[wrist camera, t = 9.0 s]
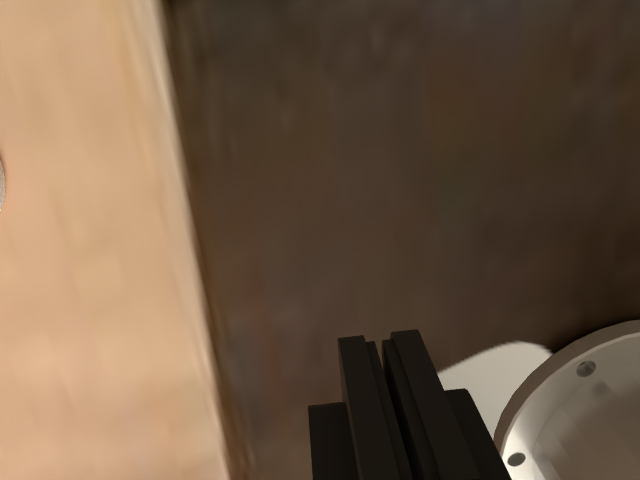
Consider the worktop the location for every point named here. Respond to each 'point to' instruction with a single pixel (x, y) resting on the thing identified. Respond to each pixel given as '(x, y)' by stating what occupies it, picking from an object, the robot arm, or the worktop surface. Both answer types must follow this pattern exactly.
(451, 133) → the worktop surface
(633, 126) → the worktop surface
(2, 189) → the supplement bottle
